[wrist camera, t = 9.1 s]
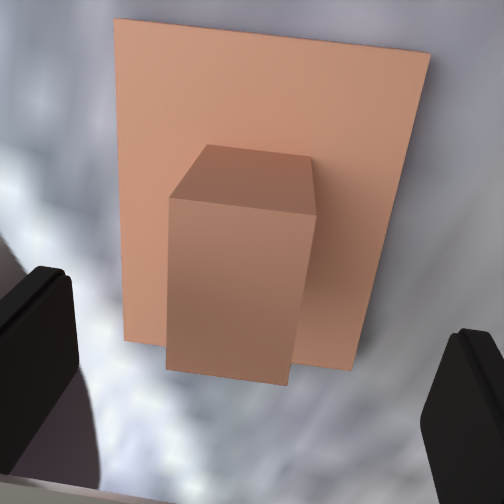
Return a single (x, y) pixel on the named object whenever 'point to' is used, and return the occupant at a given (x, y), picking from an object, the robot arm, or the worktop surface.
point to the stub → (255, 192)
